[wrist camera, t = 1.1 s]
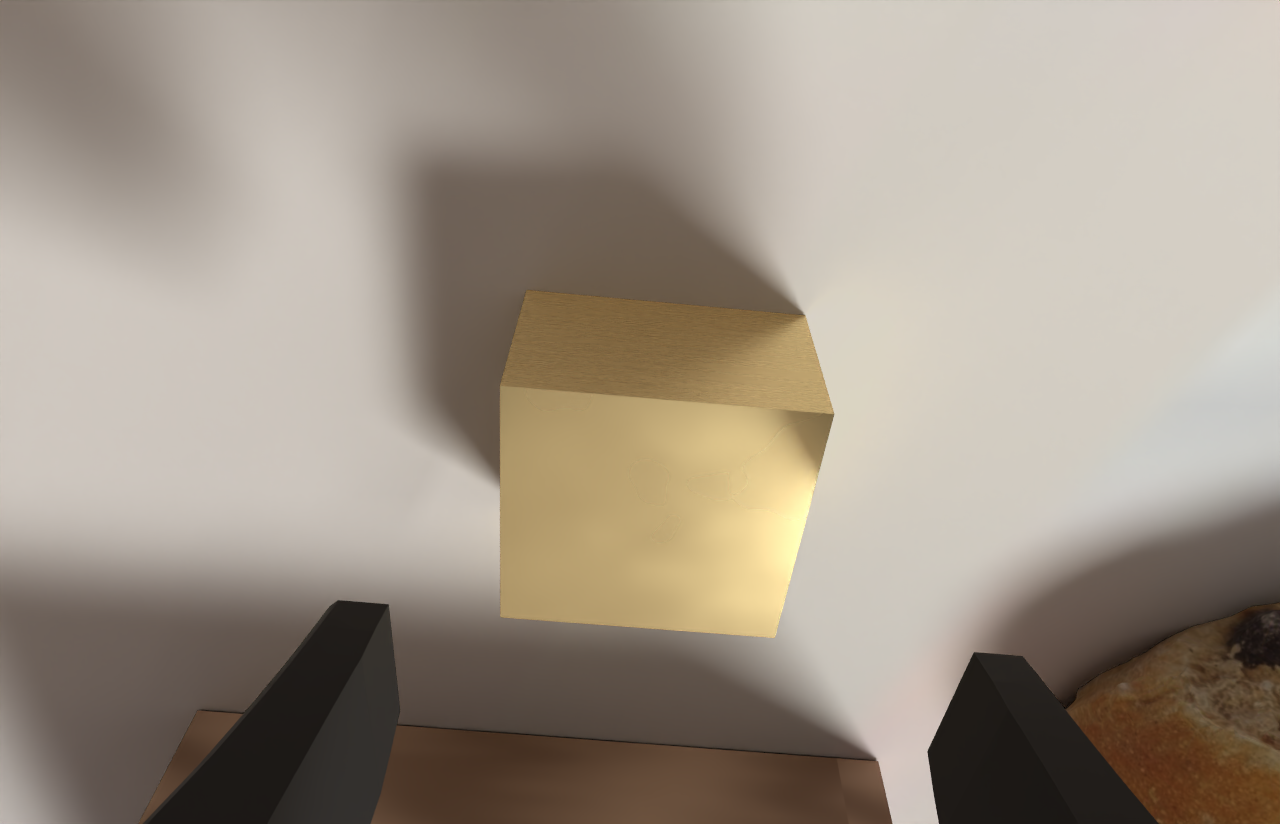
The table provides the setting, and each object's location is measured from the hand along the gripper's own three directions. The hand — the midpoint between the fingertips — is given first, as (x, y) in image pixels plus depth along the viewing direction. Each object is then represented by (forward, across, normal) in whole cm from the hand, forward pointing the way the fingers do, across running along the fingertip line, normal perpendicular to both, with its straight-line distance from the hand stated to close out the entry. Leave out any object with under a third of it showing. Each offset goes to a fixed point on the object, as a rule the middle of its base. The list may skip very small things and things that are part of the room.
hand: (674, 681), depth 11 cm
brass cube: (+6, 0, 0) cm, 6 cm away
